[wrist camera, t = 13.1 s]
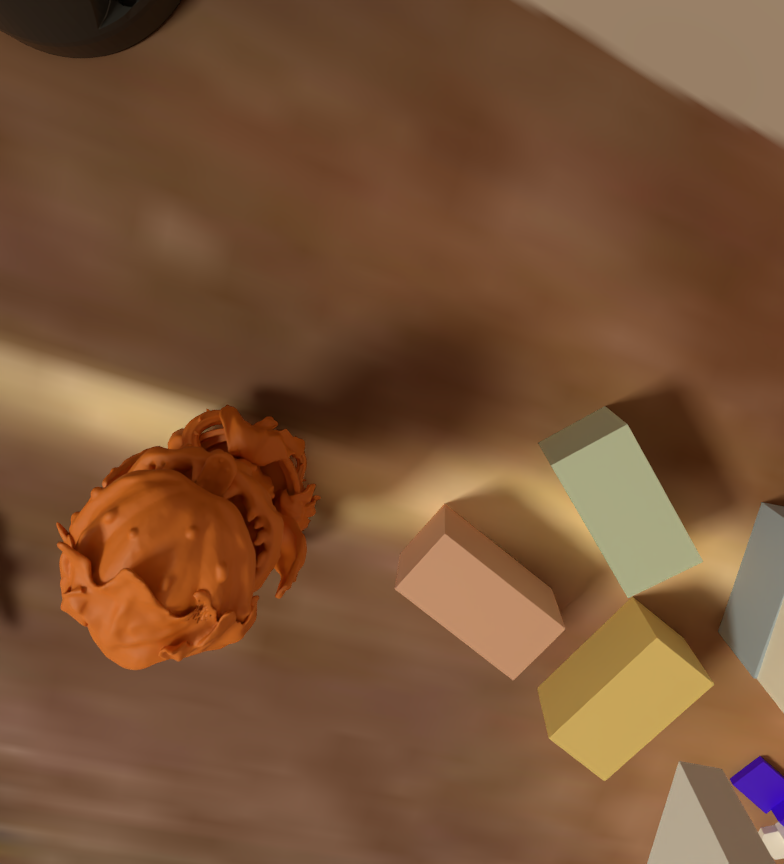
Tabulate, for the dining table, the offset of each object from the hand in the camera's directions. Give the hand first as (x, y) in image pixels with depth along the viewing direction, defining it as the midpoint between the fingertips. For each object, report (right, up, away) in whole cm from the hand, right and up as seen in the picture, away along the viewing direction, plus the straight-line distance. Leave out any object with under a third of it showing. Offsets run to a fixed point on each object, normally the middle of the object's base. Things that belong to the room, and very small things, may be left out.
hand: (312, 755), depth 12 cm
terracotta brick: (+7, -3, +30) cm, 31 cm away
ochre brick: (+16, -9, +31) cm, 36 cm away
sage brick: (+15, +3, +28) cm, 32 cm away
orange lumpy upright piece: (-7, +4, +30) cm, 31 cm away
